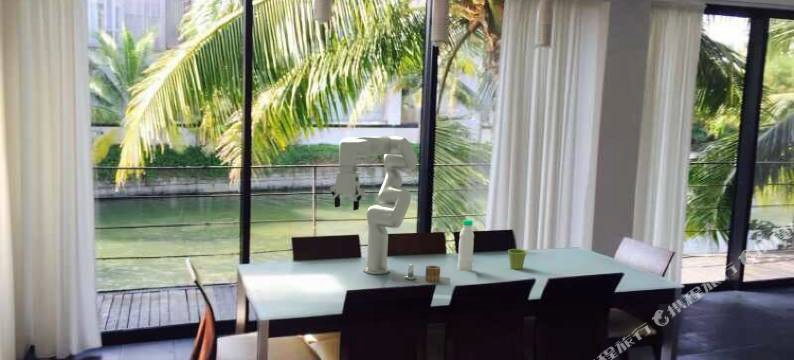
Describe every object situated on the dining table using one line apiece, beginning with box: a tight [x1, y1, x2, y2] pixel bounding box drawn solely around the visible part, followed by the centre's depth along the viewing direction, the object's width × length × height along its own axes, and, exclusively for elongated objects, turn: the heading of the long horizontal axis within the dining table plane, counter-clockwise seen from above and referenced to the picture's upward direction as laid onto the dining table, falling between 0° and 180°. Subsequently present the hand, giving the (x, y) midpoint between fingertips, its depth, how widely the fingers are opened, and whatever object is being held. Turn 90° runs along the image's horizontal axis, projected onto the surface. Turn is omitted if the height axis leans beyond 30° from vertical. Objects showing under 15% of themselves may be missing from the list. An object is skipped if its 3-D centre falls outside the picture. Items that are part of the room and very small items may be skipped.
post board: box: [391, 273, 451, 286], centre depth 301 cm, size 12×26×2 cm, turn 85°
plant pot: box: [507, 248, 528, 270], centre depth 334 cm, size 9×9×9 cm
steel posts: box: [404, 263, 416, 280], centre depth 301 cm, size 5×14×7 cm, turn 85°
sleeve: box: [424, 264, 441, 282], centre depth 300 cm, size 6×6×6 cm
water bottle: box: [457, 219, 475, 272], centre depth 324 cm, size 7×7×25 cm
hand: (346, 208), depth 288 cm, fingers open, 9 cm apart
